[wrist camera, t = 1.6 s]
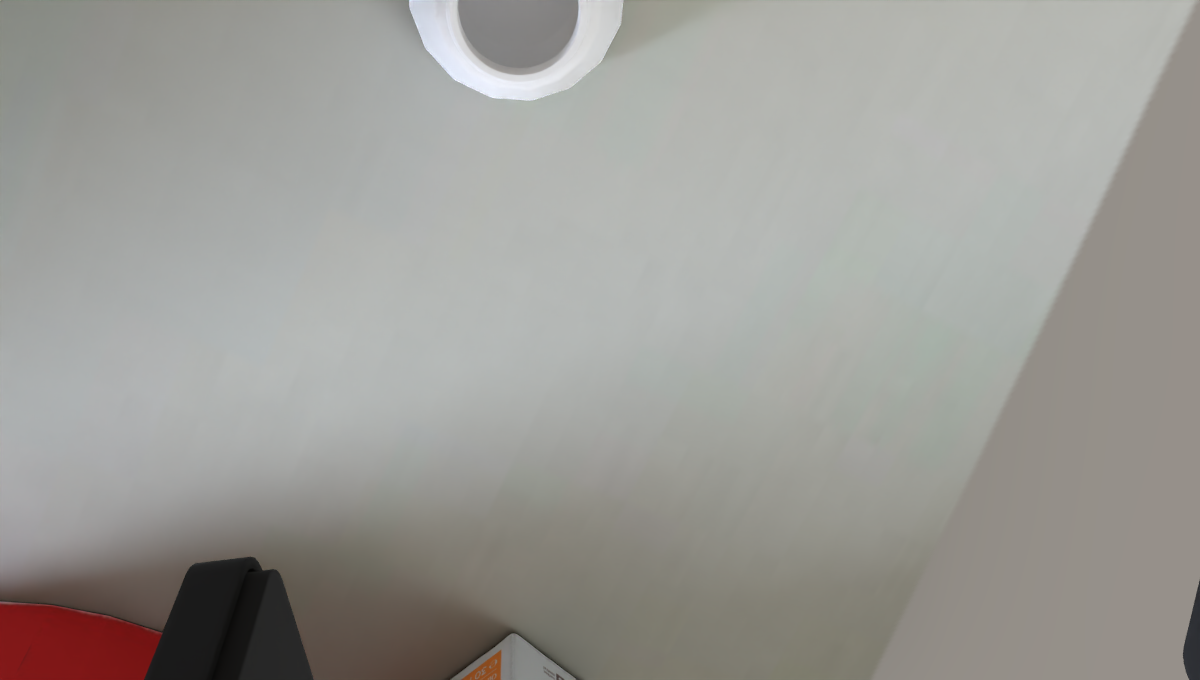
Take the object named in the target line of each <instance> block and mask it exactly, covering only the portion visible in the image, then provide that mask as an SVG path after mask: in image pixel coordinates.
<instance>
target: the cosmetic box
mask: <svg viewBox="0 0 1200 680" xmlns="http://www.w3.org/2000/svg"><path fill="white" fill-rule="evenodd" d="M451 680H577V679H576V678H574V677H573V676H572V675H570V674H569V673H568V672H566V671H565V670H563V669H562V668H561V667H559V666H558V665H557V664H556V663H554V662H553V661H552V660H550V659H549V658H547V657H546V656H545V655H543V654H542V653H541V652H540V651H538V650H537V649H536V648H534V647H533V646H532V645H531V644H529V643H528V642H527V641H525V640H524V639H523V638H522V637H520V636H519V635H517V634H515V633H512V634H510V635H509V636H507V637H506V638H505V639H504V640H503V641H501V642H500V643H499V644H498V645H497V646H495V647H494V648H493V649H491V650H490V651H489V652H487V653H486V654H484V655H483V656H481V657H480V658H479V659H477V660H476V661H475V662H473V663H472V664H471V665H469V666H468V667H467V668H465V669H464V670H463V671H461V672H460V673H459V674H457V675H456V676H455V677H453V678H452V679H451Z"/></svg>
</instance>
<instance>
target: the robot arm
mask: <svg viewBox="0 0 1200 680" xmlns="http://www.w3.org/2000/svg"><path fill="white" fill-rule="evenodd" d="M1183 659H1184V665H1185V669H1186V673H1187V675H1188V678H1189V680H1200V581H1199V586H1198V590H1197V594H1196V598H1195V603H1194V607H1193V611H1192V615H1191V619H1190V623H1189V627H1188V632H1187V636H1186V640H1185V644H1184V650H1183ZM144 680H314V679H313V676H312V673H311V669H310V666H309V663H308V660H307V657H306V653H305V650H304V647H303V644H302V641H301V638H300V634H299V631H298V628H297V625H296V622H295V619H294V615H293V612H292V609H291V606H290V603H289V600H288V596H287V593H286V590H285V587H284V584H283V580H282V578H281V576H280V574H279V572H278V571H277V570H274V569H272V570H264V571H262V569H261V566H260V564H259V562H258V561H257V560H256V559H255V558H253V557H245V558H237V559H229V560H221V561H212V562H204V563H196V564H194V565H192V566H191V567H190V568H189V570H188V571H187V573H186V575H185V578H184V580H183V583H182V585H181V588H180V590H179V593H178V595H177V598H176V600H175V603H174V605H173V608H172V610H171V613H170V615H169V618H168V620H167V623H166V625H165V628H164V630H163V633H162V635H161V638H160V640H159V643H158V646H157V648H156V651H155V653H154V656H153V658H152V661H151V663H150V666H149V668H148V671H147V673H146V676H145V678H144Z"/></svg>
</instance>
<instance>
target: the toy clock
mask: <svg viewBox="0 0 1200 680" xmlns="http://www.w3.org/2000/svg"><path fill="white" fill-rule="evenodd" d="M161 635H162V633H161V632H158V631H155V630H152V629H149V628H145V627H142V626H139V625H136V624H133V623H130V622H127V621H124V620H120V619H117V618H114V617H111V616H107V615H102V614H97V613H91V612H86V611H81V610H75V609H70V608H65V607H60V606H54V605H45V604H30V603H15V602H0V680H144V678H145V676H146V673H147V671H148V668H149V666H150V663H151V661H152V658H153V656H154V653H155V651H156V648H157V646H158V643H159V640H160V638H161Z"/></svg>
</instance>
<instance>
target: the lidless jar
mask: <svg viewBox="0 0 1200 680" xmlns="http://www.w3.org/2000/svg"><path fill="white" fill-rule="evenodd" d="M409 8H410V11H411V13H412V16H413V18H414V21H415V24H416V26H417V29H418V31H419V34H420V37H421V39H422V42H423V44H424V47H425V49H426V50H427V51H428V52H429V53H430V54H431V55H432V56H433V57H434V59H435V60H436V61H437V62H438V63H439V64H440V65H441V66H442V67H443V68H444V69H445V71H446V72H447V73H448V74H449V75H450V76H451V77H452V78H453V79H454V80H456V81H458V82H460V83H462V84H464V85H466V86H468V87H470V88H472V89H474V90H476V91H478V92H480V93H482V94H484V95H486V96H489V97H491V98H501V99H515V100H529V101H532V100H536V99H539V98H542V97H545V96H548V95H551V94H554V93H557V92H560V91H563V90H566V89H569V88H571V87H572V86H573V85H575V84H576V83H577V82H578V81H579V80H580V79H582V78H583V77H584V76H585V75H586V74H587V73H589V72H590V71H591V70H592V69H593V68H595V67H596V66H597V65H598V64H599V63H600V62H602V60H603V58H604V56H605V54H606V52H607V50H608V48H609V46H610V44H611V42H612V40H613V39H614V37H615V35H616V33H617V31H618V29H619V27H620V25H621V19H622V9H623V0H409Z"/></svg>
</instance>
